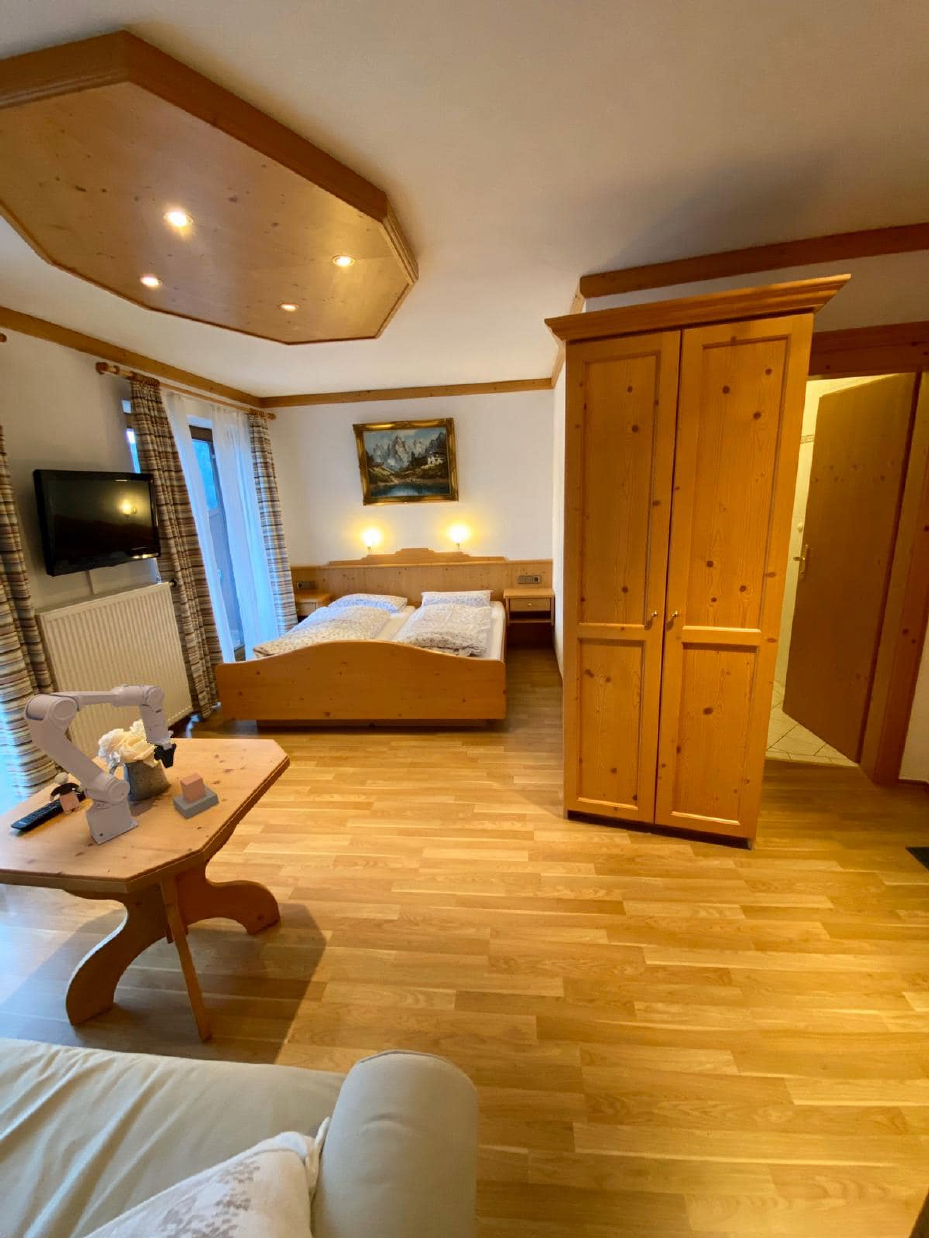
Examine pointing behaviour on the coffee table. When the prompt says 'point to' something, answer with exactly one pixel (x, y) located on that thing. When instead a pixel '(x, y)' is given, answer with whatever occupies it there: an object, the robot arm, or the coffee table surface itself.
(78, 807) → the grandmother figurine
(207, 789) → the gray block
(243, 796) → the coffee table surface
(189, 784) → the terracotta block
